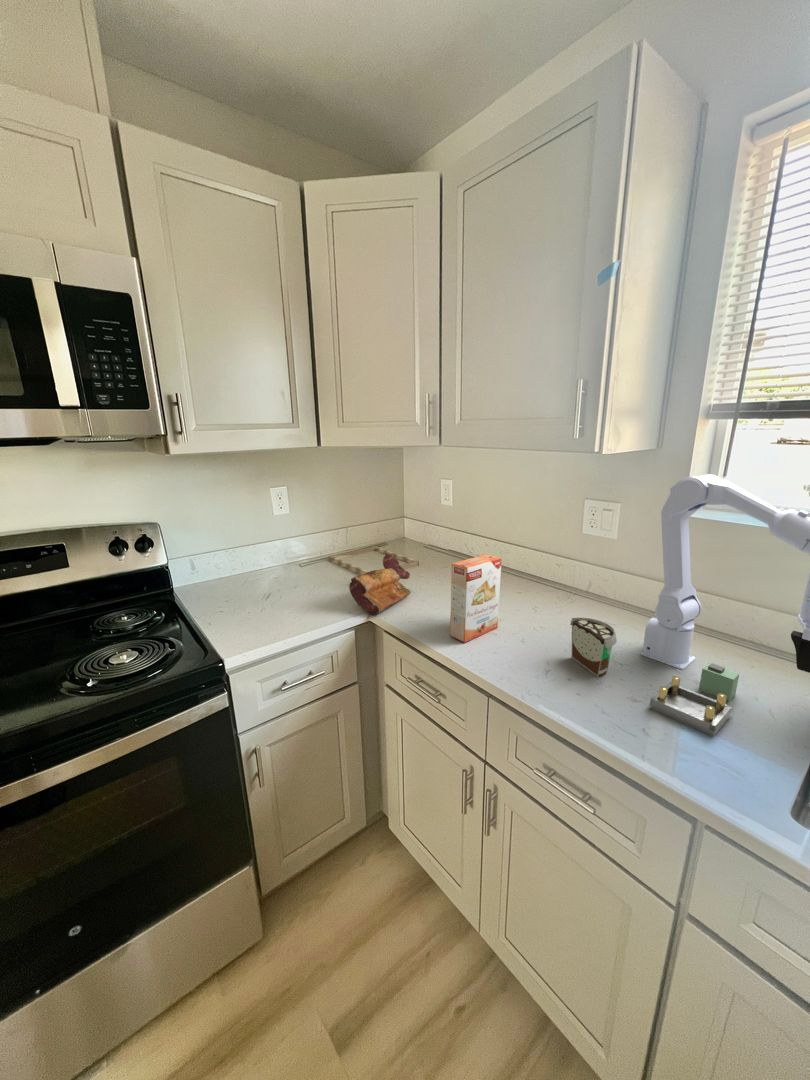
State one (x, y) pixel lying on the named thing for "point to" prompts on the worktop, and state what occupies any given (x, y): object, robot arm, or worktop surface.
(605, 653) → the food container
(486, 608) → the cracker box
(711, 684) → the block
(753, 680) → the worktop surface
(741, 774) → the worktop surface
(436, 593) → the worktop surface
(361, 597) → the cured meat
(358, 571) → the rim
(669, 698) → the chassis
